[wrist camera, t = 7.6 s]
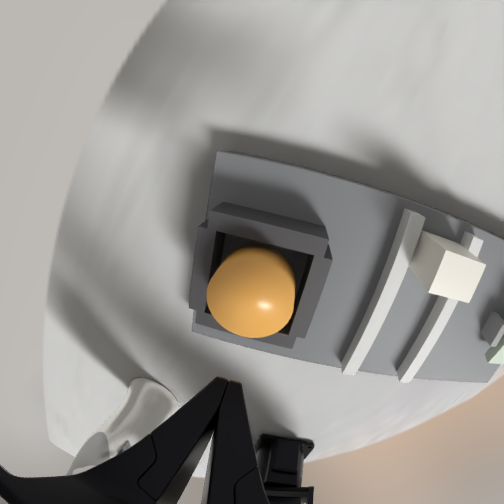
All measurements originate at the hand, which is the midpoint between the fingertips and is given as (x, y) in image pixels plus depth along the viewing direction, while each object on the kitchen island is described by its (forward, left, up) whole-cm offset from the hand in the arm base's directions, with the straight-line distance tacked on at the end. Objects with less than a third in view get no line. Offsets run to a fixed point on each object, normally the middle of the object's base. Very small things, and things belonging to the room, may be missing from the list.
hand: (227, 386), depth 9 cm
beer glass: (-20, +9, -12) cm, 25 cm away
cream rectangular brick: (+4, -10, -10) cm, 15 cm away
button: (0, 0, -8) cm, 8 cm away
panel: (0, -10, -12) cm, 16 cm away
